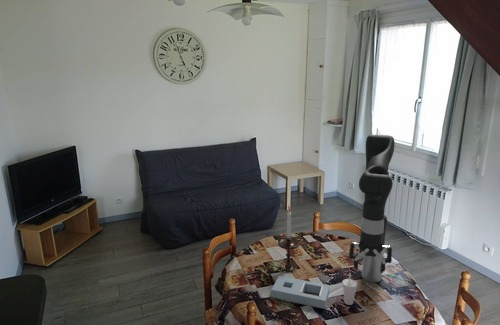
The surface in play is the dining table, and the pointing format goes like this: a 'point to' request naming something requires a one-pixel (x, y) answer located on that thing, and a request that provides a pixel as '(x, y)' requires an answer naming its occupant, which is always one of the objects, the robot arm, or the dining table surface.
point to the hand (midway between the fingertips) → (368, 270)
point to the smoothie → (349, 290)
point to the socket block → (300, 291)
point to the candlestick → (288, 245)
